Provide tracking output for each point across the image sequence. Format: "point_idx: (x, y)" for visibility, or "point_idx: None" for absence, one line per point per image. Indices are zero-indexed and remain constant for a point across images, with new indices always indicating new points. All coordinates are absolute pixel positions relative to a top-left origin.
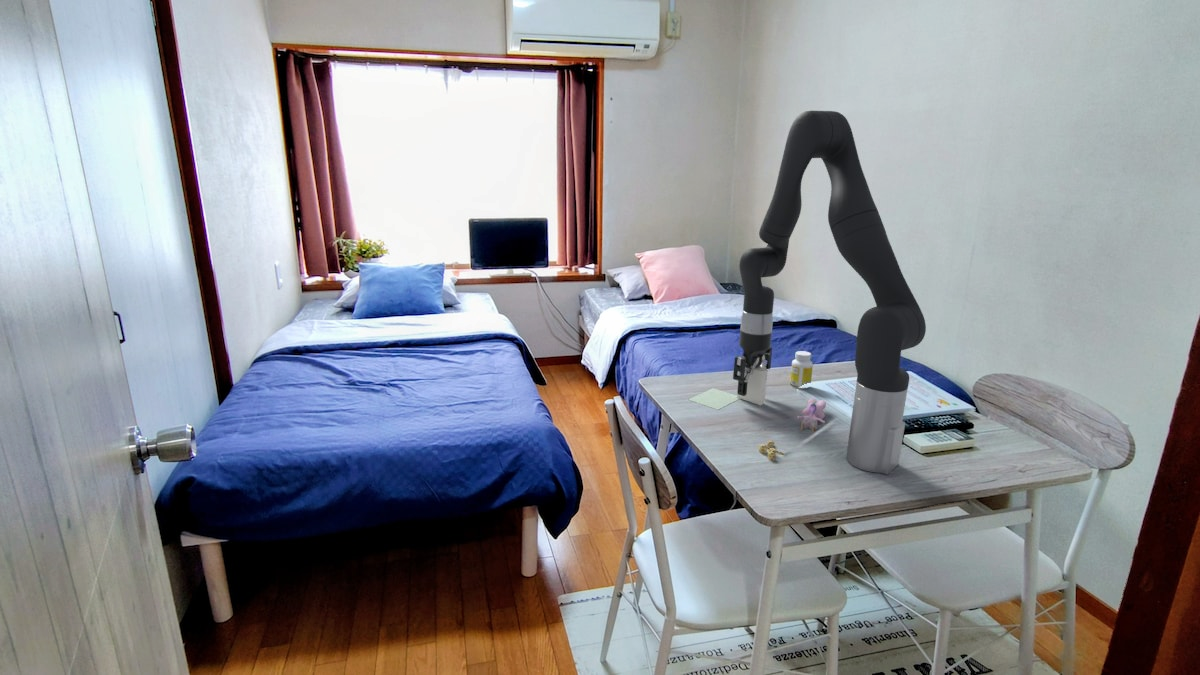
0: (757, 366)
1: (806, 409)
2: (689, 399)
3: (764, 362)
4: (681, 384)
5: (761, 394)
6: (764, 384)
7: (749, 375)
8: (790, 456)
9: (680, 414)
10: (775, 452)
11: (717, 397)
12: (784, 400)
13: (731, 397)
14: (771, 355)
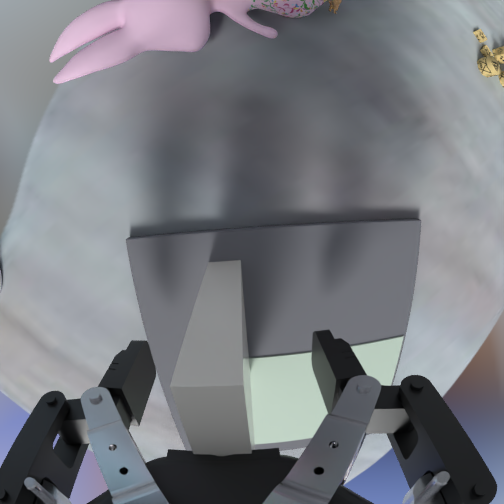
0: (206, 462)
1: (198, 22)
2: None
3: (116, 462)
4: None
5: (241, 284)
6: (220, 311)
7: (336, 412)
8: (471, 16)
9: (456, 367)
10: (499, 47)
11: (306, 402)
12: (88, 231)
13: (267, 380)
14: (9, 452)
